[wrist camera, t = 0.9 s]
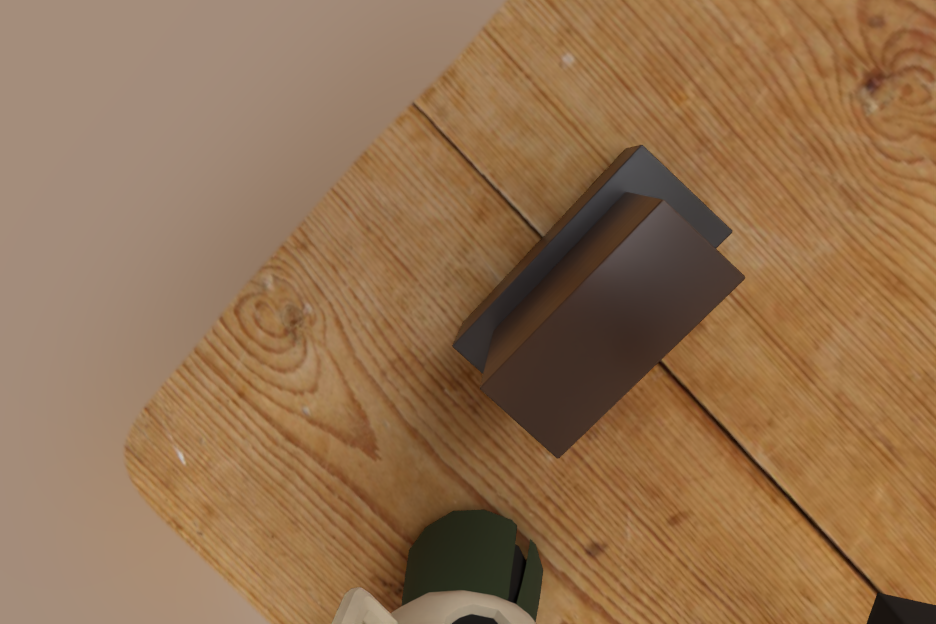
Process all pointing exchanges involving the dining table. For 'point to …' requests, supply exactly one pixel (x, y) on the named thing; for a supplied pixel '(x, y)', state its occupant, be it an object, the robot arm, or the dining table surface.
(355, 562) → the dining table surface
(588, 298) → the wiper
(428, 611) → the character mug
